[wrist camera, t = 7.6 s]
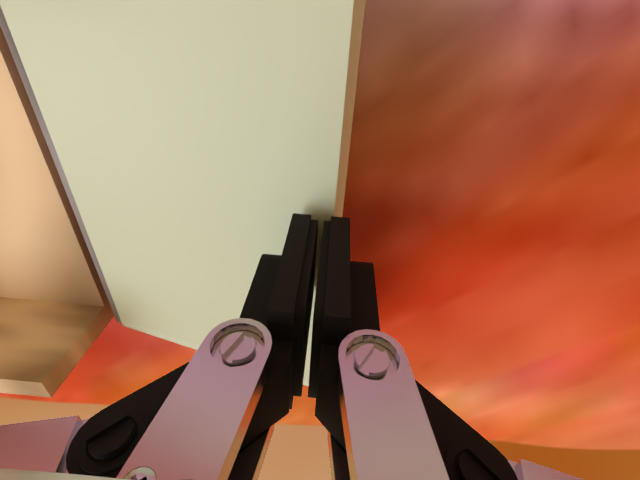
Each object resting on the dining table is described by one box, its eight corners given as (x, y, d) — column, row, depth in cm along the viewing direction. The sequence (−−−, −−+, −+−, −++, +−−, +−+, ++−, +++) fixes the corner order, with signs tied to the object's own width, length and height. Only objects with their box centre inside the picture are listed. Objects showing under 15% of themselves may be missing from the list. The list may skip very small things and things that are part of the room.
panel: (109, 321, 17) (318, 389, 14) (-43, -49, 9) (357, -33, 7) (127, 304, 18) (326, 366, 15) (5, -42, 10) (368, -27, 8)
